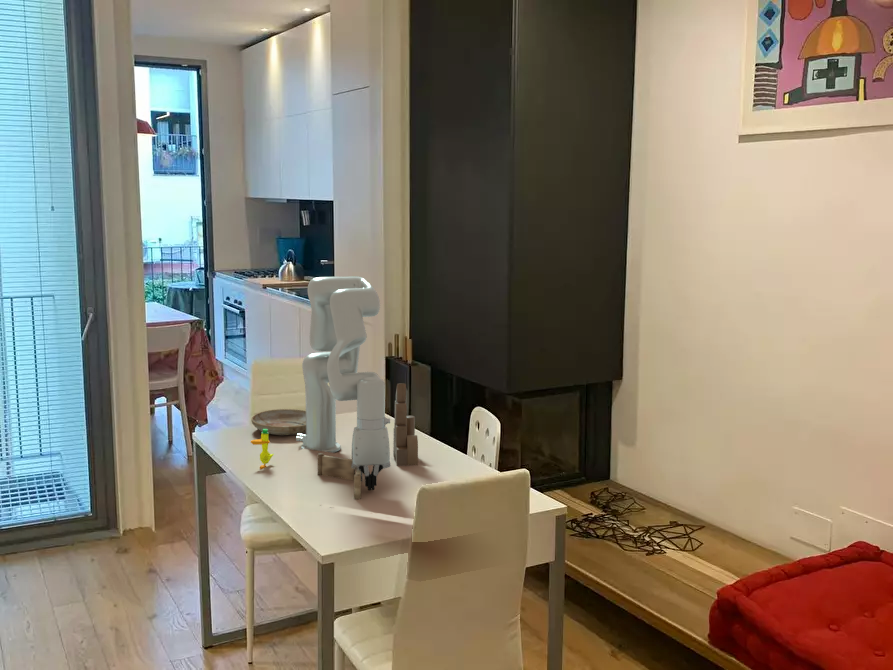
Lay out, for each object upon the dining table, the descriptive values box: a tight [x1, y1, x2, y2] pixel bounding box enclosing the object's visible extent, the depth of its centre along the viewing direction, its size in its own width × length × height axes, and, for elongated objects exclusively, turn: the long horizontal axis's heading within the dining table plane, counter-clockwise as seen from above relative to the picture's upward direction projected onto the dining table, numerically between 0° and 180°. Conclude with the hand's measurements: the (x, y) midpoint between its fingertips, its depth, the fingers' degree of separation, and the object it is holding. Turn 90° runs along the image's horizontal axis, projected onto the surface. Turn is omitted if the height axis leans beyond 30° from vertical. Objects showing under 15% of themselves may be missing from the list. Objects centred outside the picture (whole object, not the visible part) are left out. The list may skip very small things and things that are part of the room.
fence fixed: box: [317, 452, 363, 482], centre depth 250 cm, size 14×2×7 cm, turn 68°
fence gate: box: [353, 469, 362, 500], centre depth 240 cm, size 14×2×6 cm, turn 4°
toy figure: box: [250, 429, 275, 470], centre depth 261 cm, size 7×4×12 cm, turn 99°
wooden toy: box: [392, 383, 419, 467], centre depth 268 cm, size 16×7×25 cm, turn 8°
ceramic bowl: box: [251, 408, 306, 436], centre depth 302 cm, size 23×24×5 cm
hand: (370, 488), depth 239 cm, fingers closed
